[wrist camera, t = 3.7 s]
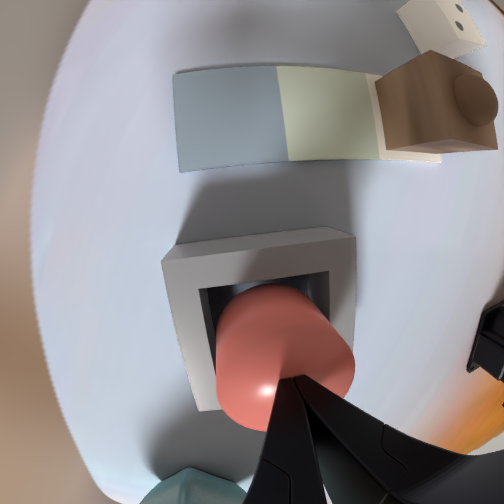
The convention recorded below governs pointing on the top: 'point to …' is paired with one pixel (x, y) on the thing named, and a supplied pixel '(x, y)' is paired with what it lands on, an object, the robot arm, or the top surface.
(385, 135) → the cube with dome knob
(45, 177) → the top surface
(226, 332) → the pink push button
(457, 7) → the die
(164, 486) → the flower pot
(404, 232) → the top surface
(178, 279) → the button housing
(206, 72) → the mat
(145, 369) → the top surface
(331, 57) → the top surface
